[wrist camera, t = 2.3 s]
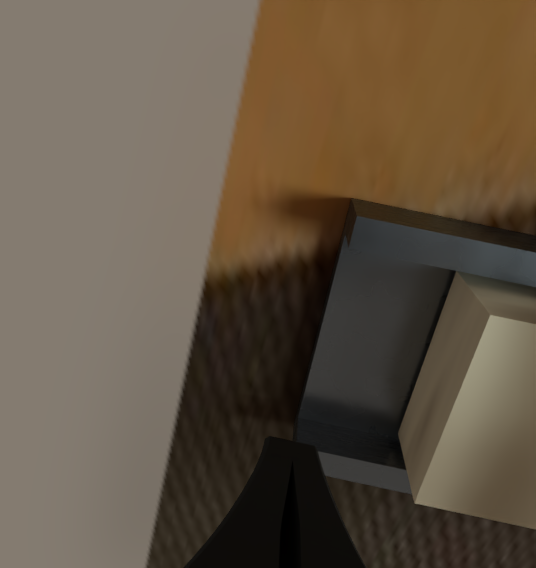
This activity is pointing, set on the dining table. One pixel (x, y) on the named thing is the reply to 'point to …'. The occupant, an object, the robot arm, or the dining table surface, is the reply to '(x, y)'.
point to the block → (477, 405)
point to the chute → (389, 329)
